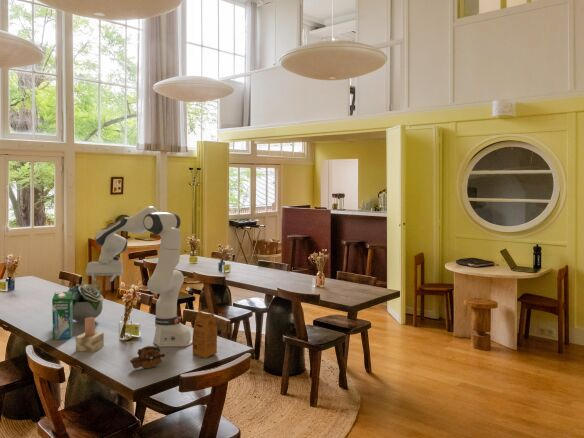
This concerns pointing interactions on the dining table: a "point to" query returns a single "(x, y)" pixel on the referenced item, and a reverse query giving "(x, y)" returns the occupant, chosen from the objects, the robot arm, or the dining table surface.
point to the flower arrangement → (86, 302)
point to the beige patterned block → (89, 342)
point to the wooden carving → (147, 357)
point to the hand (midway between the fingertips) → (102, 280)
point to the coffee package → (204, 335)
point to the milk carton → (62, 315)
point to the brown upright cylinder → (89, 326)
